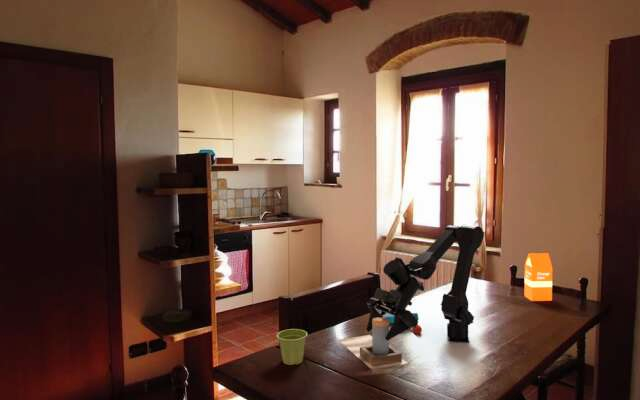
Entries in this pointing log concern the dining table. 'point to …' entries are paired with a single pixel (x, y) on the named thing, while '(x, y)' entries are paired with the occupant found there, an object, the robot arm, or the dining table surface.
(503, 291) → the dining table surface
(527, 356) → the dining table surface
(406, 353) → the dining table surface
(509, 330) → the dining table surface
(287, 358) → the plant pot
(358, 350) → the jig
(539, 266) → the orange juice
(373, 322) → the orange-capped blue cylinder
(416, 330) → the lever
